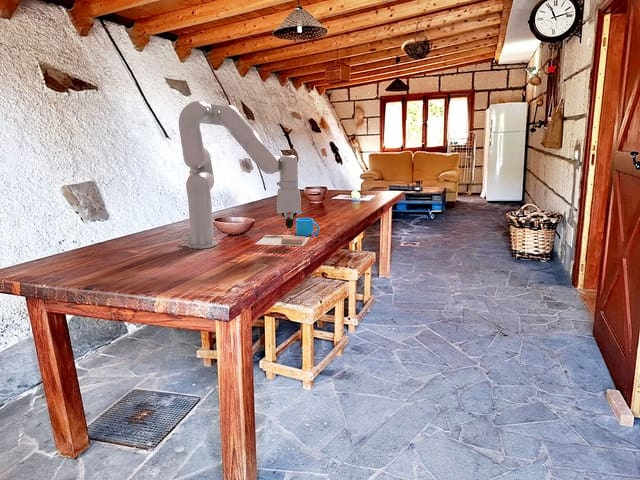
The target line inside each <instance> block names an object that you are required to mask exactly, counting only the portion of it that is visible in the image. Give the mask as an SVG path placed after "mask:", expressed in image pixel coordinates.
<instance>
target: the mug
mask: <svg viewBox="0 0 640 480" xmlns="http://www.w3.org/2000/svg"><path fill="white" fill-rule="evenodd" d="M314 226H316V228H317V229H316V232H315V233H314ZM295 228H296V229H295V230H296V231H295V233H296V235H297V236H311V235H312V236H317V235H318V234H319V232H320V230H321V229H320V226H319V224H318V223H317V222H315V221H314V218H311V217H299V218H298V217H297V218H296V219H295Z"/></svg>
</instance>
